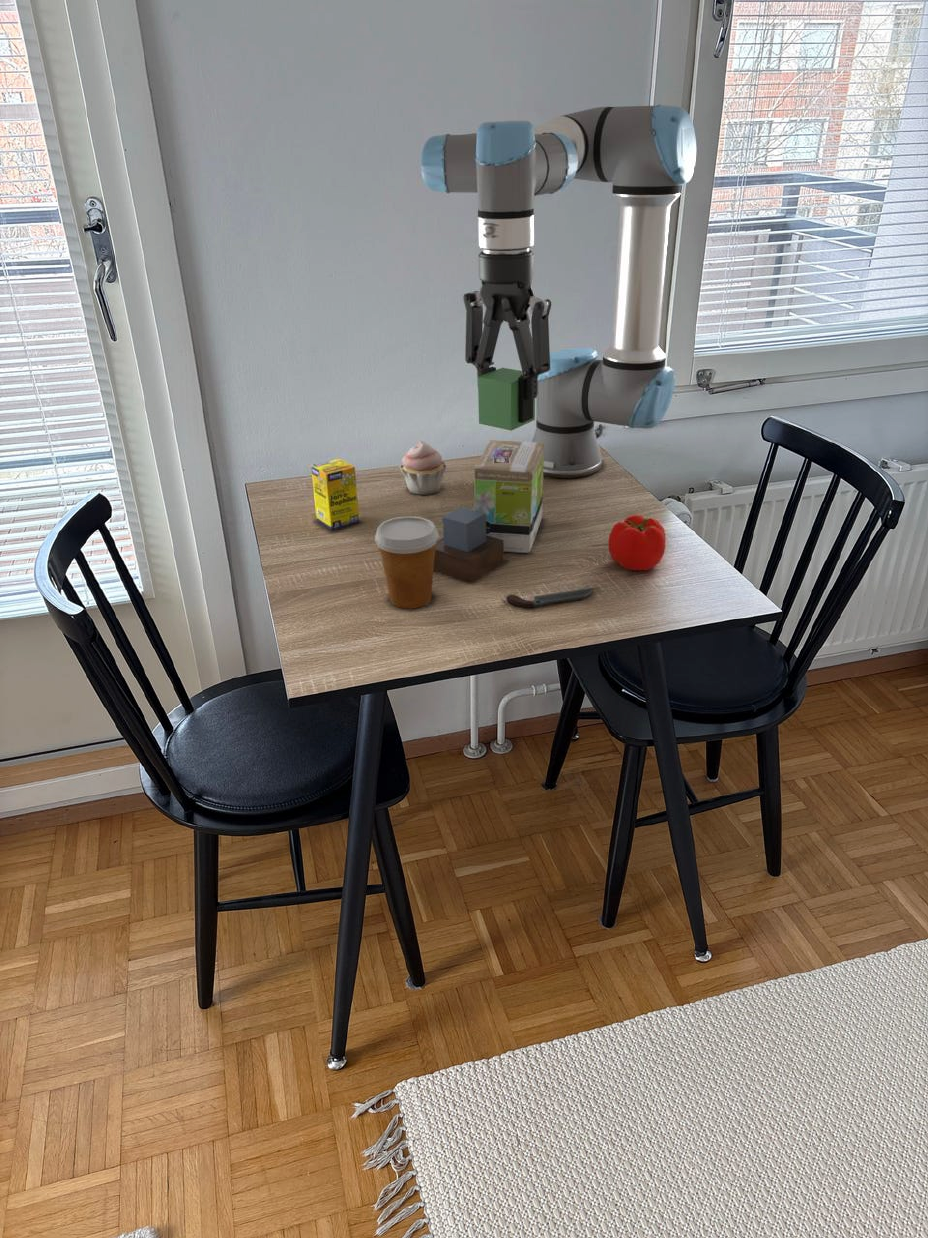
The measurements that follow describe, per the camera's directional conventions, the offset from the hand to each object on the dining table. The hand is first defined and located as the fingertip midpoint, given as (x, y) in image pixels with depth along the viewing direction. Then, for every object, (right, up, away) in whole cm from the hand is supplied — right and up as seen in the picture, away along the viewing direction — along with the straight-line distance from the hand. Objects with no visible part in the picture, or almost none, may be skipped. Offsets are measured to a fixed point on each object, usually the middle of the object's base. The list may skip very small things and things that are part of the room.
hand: (507, 415), depth 138 cm
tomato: (+22, -21, +14) cm, 34 cm away
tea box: (+2, -15, +26) cm, 30 cm away
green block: (0, -1, 0) cm, 1 cm away
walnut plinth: (-6, -21, +15) cm, 27 cm away
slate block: (-6, -18, +13) cm, 23 cm away
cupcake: (-14, -5, +45) cm, 48 cm away
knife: (+7, -27, +5) cm, 28 cm away
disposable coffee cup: (-15, -27, +6) cm, 31 cm away
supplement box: (-29, -13, +32) cm, 45 cm away
